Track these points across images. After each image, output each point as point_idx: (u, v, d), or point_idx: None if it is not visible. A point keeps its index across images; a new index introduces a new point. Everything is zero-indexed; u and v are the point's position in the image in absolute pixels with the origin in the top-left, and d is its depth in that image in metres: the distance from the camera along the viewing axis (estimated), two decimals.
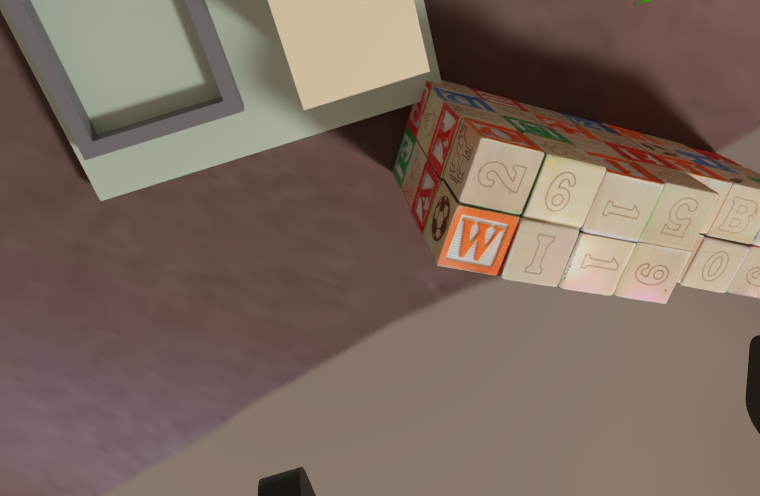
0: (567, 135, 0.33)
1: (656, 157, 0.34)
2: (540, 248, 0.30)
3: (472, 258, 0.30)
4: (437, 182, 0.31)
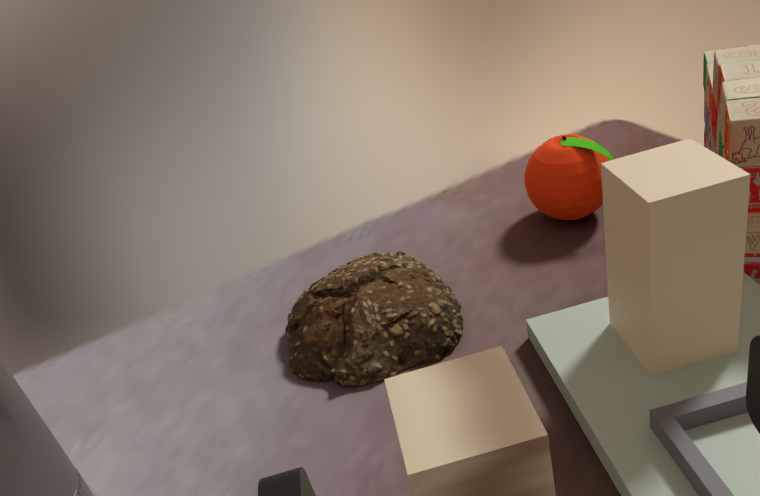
0: (718, 153, 0.45)
1: (712, 119, 0.49)
2: None
3: None
4: None
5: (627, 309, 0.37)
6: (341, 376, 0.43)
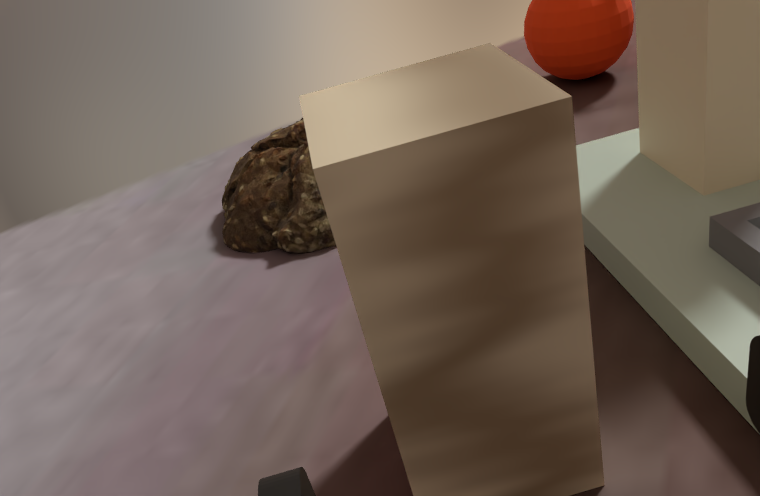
0: None
1: None
2: None
3: None
4: None
5: (667, 109, 0.27)
6: (284, 238, 0.32)
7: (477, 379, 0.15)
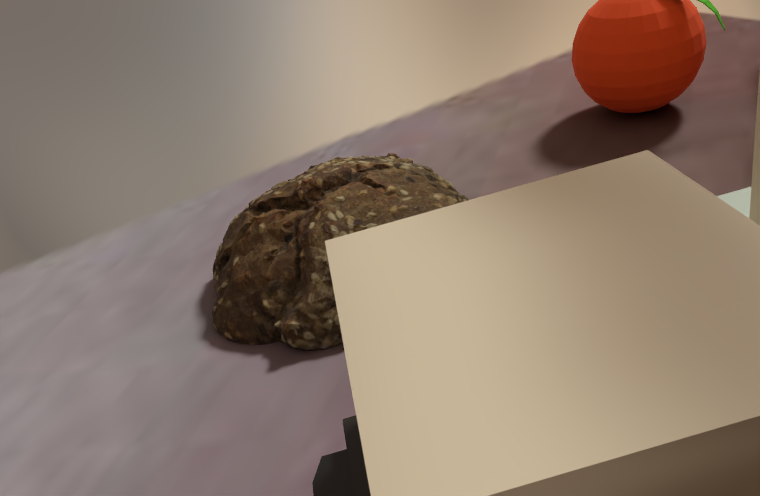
0: None
1: None
2: None
3: None
4: None
5: None
6: (290, 332, 0.25)
7: None
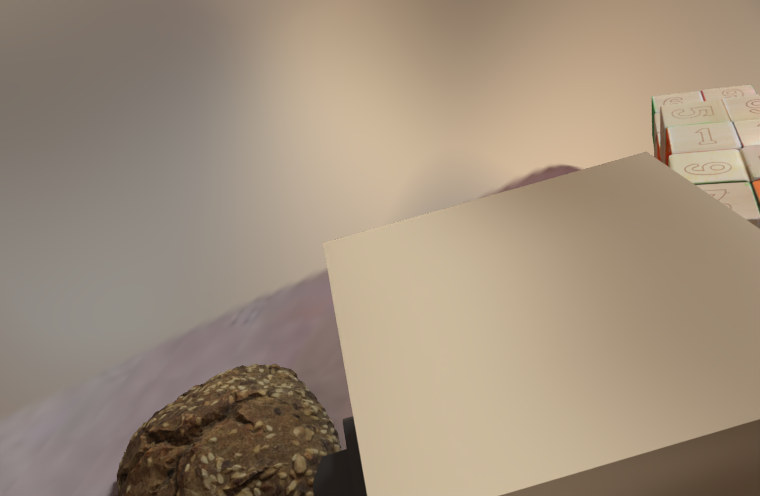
0: None
1: None
2: None
3: None
4: None
5: None
6: None
7: None
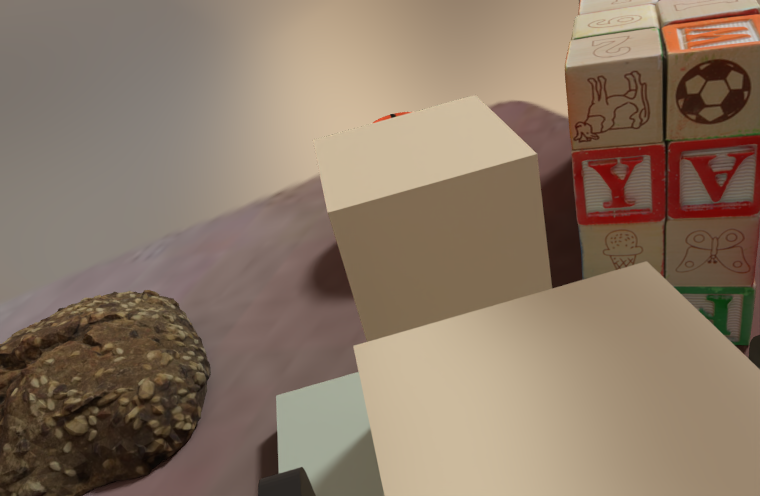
0: None
1: None
2: (695, 5, 0.23)
3: (746, 31, 0.21)
4: (674, 145, 0.22)
5: None
6: None
7: None
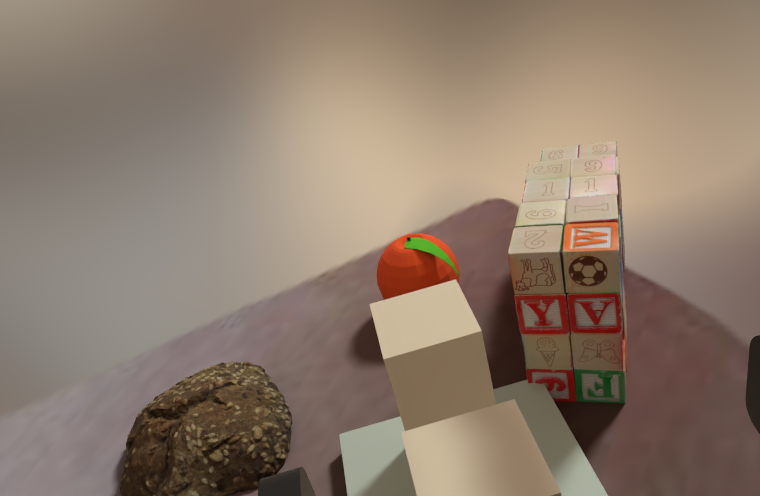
0: None
1: None
2: (585, 209, 0.40)
3: (606, 236, 0.38)
4: (570, 295, 0.39)
5: None
6: None
7: None
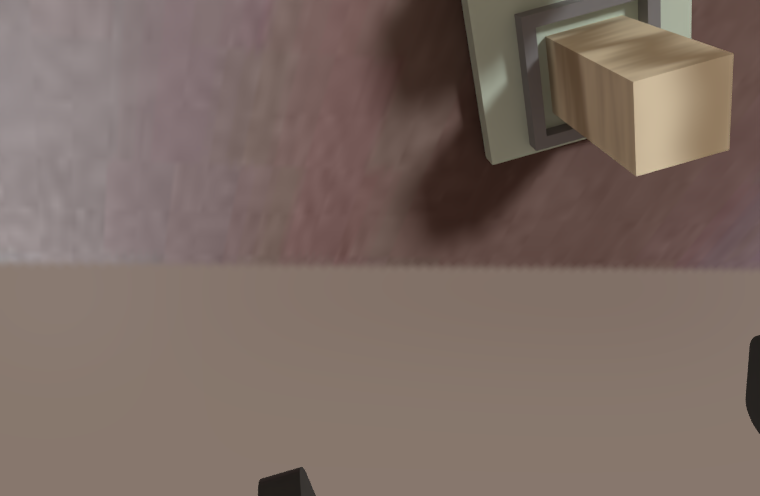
0: None
1: None
2: None
3: None
4: None
5: None
6: None
7: None
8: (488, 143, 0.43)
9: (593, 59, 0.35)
